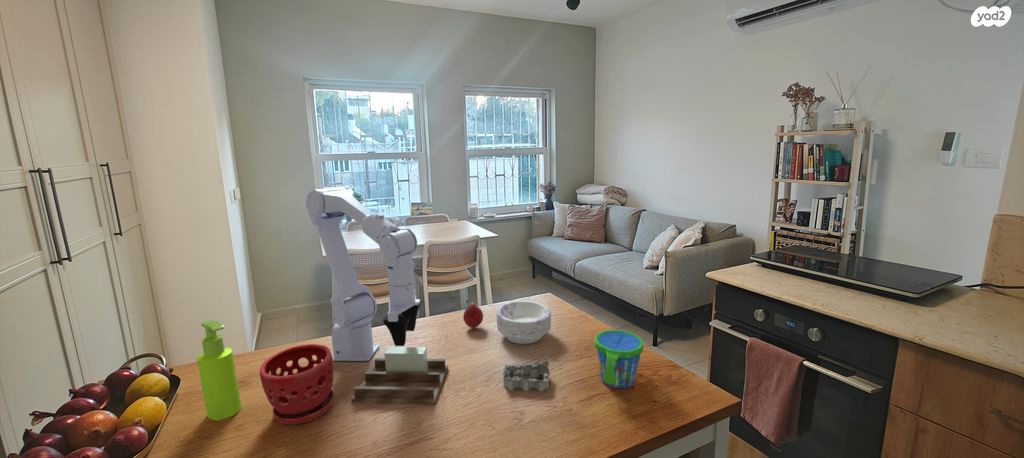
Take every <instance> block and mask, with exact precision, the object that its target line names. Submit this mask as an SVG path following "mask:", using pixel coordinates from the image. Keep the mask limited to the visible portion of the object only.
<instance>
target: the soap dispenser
mask: <svg viewBox="0 0 1024 458" xmlns="http://www.w3.org/2000/svg"><path fill="white" fill-rule="evenodd" d="M200 325H201V327H203V328H204V330H205V337H204V338H202V339H201V344H202V350H203V352H202V353H200V354H199V355H198V356H197V358H196V360H197V366H198V371H199V376H200V377H199V378H200V382H201V387H202V392H203V399H204V403H205V410H206V415H207V418H209V419H208V420H210V419H212V420H211V421H213V420H217V421H221V420H220V419H223V420H225V419H224V418H226V419H229V418H231V417H233V416H235V415H236V414H238V413H239V412H240V411H241V409H242V401H241V395H240V389H239V384H238V383H239V382H238V378H237V372H236V371H237V370H236V366H235V360H234V355H233V354H234V352H233V349H232V348H231V347H225V345H224V339H223V335H222V334H218V333H217V332H218V331H221V330H223V329H225V326H224V325H223V324H221V323H220V322H219V321H217V320H213V319H210V320H207V321H204V322H201V323H200ZM239 410H240V411H239ZM237 412H238V413H237ZM234 414H235V415H234ZM230 416H231V417H230ZM228 417H229V418H228Z"/></svg>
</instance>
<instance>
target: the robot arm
mask: <svg viewBox="0 0 1024 458" xmlns="http://www.w3.org/2000/svg"><path fill="white" fill-rule="evenodd" d="M305 206H306V209H307V212H308V214H309V218H310V220H311V223H312V225H313V226H316V230H317V233H318V235H319V238H320V241H321V245H322V247H323V251H324V253H325V256H326V259H327V261H328V265H329V268H330V271H331V274H332V277H333V280H334V282H335V286H336V289H337V290H336V291H335V293H334V294H333V296H332V297H331V299H330V306H331V316H332V318H333V320H334V325H333V326H332V328H331V329H332V330H331V343H332V344H331V345H332V353H333V355H332V356H333V357H332V359H333V362H335V361H337V362H339V361H340V362H369V361H370V360H371V358H372V357H373V355H374V354H375V353H376V352H377V350H378V349H379V347H380V344H374V339H373V330H372V329H373V327H372V321H373V320H374V315H375V314H376V313H377V310H378V303H377V301H376V298H375V297H374V295H373V294H372V292H371V290H370V287H368V286H367V285H364V284H362V283H360V282H359V280H358V278H357V274H356V271H355V268H354V266H353V263H352V259H351V256H350V254H349V250H348V248H347V244H346V242H345V239H344V236H343V233H342V230H341V226H340V225H341V223H342V221H344V220H346V217H347V216H348V217H349V218H351V219H352V220H354V221H355V222H357V223H358V224H360V225H361V229H362V232H363V234H364V235H366V236H367V237H368V238H369V239H371V240H372V241H374V242H375V243H376V244H377V245H378V247H379V250H380V253H381V255H382V257H383V263H384V265H385V266H386V269H387V271H386V273H387V282H388V283H387V284H388V297H389V298H388V299H389V301H388V312H387V314H386V315H385V316H384V317H383V319H382V322H383V324H384V325H385V327H386V328H387V329H388V331H389V333H390V336H391V338H392V341H393V344H394V347H405V344H406V341H407V339H406V338H407V332H414V331H415V329H416V323H417V318H418V317H417V316H418V312H419V310H420V306H421V304H422V299H419V298H418V299H417V291H416V289H415V276H414V260H413V253H414V252H415V251H416V250H417V248H418V239H417V237H416V235H415V233H414V232H413V231H412V230H411V229H410V228H408V227H407V228H402V227H398V226H397V225H396V224H395V223H393V222H392V221H390V220H388V219H387V218H386V217H385V215H384V214H383V213H381V212H373V213H372V212H371V211H370V210H369V209H367V207H366V206H365V205H363V204H362V203H361V202H360V201H359V200H358V199H356V194H355V192H354V190H352V189H351V188H350V187H349V186H347V185H340V186H333V187H326V188H318V189H316V188H312V189H310V190H309V191H308V193H307V195H306V201H305ZM352 296H353V297H352ZM350 297H352V298H350ZM348 298H349V299H348Z"/></svg>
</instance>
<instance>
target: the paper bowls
mask: <svg viewBox="0 0 1024 458" xmlns="http://www.w3.org/2000/svg"><path fill="white" fill-rule="evenodd" d="M551 324H552V312H551V309H550V308H549V307H548V306H546V305H544V304H543V303H540V302H535V301H530V300H515V301H511V302H507V303H504V304H502V305H500V306H498V308H497V310H496V328H497V331H498V332H499V333H501V335H503V336H505V338H506V340H508V341H509V342H512V343H515V344H518V345H519V344H520V345H528V344H533V343H536V342H538V341H539V340H541V338H542V337H543V336H544V335H546V334H547V333H549V331H550V330H551V326H552V325H551Z"/></svg>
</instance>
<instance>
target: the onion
mask: <svg viewBox="0 0 1024 458" xmlns="http://www.w3.org/2000/svg"><path fill="white" fill-rule="evenodd" d="M462 317H463V322H464V324H465V325H466V326H467V327H469V328H471V329H476V328H477V327H478V326H480V325H481V324H482V322H483V319H484V313H483V311H482V309H481V308H480V307H479V306H478V305H476V303H475V302H473V301H472V302H471V303H470V306H468V307H467V308H466V309H465V311H464V312H463V316H462Z"/></svg>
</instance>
